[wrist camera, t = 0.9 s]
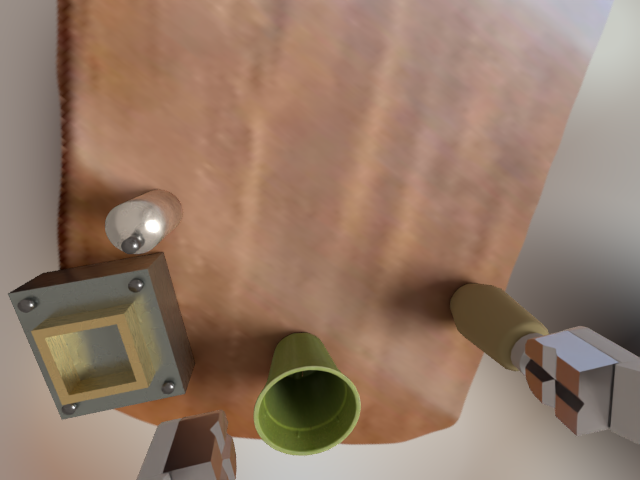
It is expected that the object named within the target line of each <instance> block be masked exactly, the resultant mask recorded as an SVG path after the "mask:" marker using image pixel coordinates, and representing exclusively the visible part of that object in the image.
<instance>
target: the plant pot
mask: <svg viewBox="0 0 640 480" xmlns="http://www.w3.org/2000/svg"><path fill="white" fill-rule="evenodd" d="M302 371H303V376H302ZM360 407H361V404H360V397H359V394H358V391H357V389H356V387H355V386H354V384H353V383H352V382H351V380H350V379H349V378H347V377H346V376H345V375H344V374H342V373H341V372H340V371H339V370H338V369H337V367H336V365H335V363H334V362H333V360H332V358H331V357H330V355H329V353H328V352H327V350H326V348H325V347H324V345H323V343H322V342H321V341H320V339H319V338H317V337H316V336H314V335H312V334H310V333H293V334H291V335H289V336H287V337H285V338H283V339H282V340H281V341H280V342H279V343H278V345H277V346H276V348H275V351H274V355H273V359H272V363H271V367H270V372H269V376H268V380H267V383H266V385H265V387H264V389H263V390H262V392H261V393H260V395H259V397H258V399H257V401H256V404H255V408H254V424H255V427H256V430H257V432H258V434H259V436H260V437H261V438H262V440H263V441H264V442H265V443H266V444H268V445H269V446H270V447H272V448H273V449H275V450H278V451H280V452H283V453H286V454H290V455H312V454H317V453H321V452H324V451H326V450H329V449H331V448H332V447H334V446H336V445H337V444H339V443H341V442H342V441H343V440H344V439H345V438H346V437H347V436H348V435H349V434H350V433H351V431H352V430H353V429H354V427H355V425H356V423H357V421H358V418H359V414H360Z"/></svg>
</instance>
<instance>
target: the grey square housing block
mask: <svg viewBox="0 0 640 480" xmlns="http://www.w3.org/2000/svg"><path fill="white" fill-rule="evenodd" d="M8 295H9V297H10V300H11V302H12V304H13V307H14V309H15V311H16V314H17V316H18V318H19V321H20V323H21V325H22V328H23V330H24V332H25V334H26V337H27V339H28V342H29V344H30V346H31V348H32V351H33V353H34V356H35V358H36V360H37V363H38V365H39V367H40V370H41V372H42V374H43V377H44V379H45V381H46V384H47V386H48V388H49V391H50V393H51V395H52V398H53V400H54V402H55V405H56V407H57V409H58V412H59V414H60V416H61V419H67V418H72V417H77V416H81V415H86V414H90V413H96V412H100V411H105V410H110V409H115V408H119V407H124V406H129V405H134V404H138V403H143V402H148V401H153V400H157V399H162V398H167V397H172V396H176V395H181V394H185V393H186V390H187V387H188V383H189V380H190V377H191V374H192V371H193V368H194V365H195V362H194V358H193V355H192V351H191V348H190V344H189V341H188V337H187V334H186V330H185V327H184V323H183V320H182V316H181V313H180V309H179V306H178V302H177V299H176V295H175V291H174V288H173V284H172V281H171V277H170V274H169V270H168V267H167V263H166V260H165V256H164V253H163V252H161V253H155V254H149V255H143V256H138V257H132V258H126V259H121V260H115V261H109V262H103V263H98V264H92V265H86V266H81V267H75V268H69V269H63V270H58V271H52V272H47V273H42V274H41V275H39V276H37V277H35V278H34V279H32V280H31V281H29V282H27V283H25V284H24V285H22V286H20V287H19V288H17V289H15V290H14V291H12V292H10V293H8Z"/></svg>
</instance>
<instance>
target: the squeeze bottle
mask: <svg viewBox="0 0 640 480" xmlns="http://www.w3.org/2000/svg"><path fill="white" fill-rule="evenodd" d="M450 309H451V312H452V315H453V318H454V321H455V324H456V327H457V330H458V331H459V332H460V333H461V334H462V335H463V336H464V337H465V338H466V339H468V340H469V341H470V342H472V343H473V344H474V345H476V346H477V347H478V348H479V349H481V350H482V351H483V352H485V353H486V354H487V355H489V356H490V357H491V358H492V359H494V360H495V361H496V362H498V363H499V364H500V365H502V366H503V367H505V369H509V370H512V371H521V372H522V373H523V374H524V375H525V376H526V374H525V367H526V365H527V364H528V362H529V360H530V358H529V357H528V356H527V355H526V354H525V344H526V342H527V340H528V339H532V338H536V337H540V336H544V335H549V333H548V330H547V329H546V328H545V327H544V325H543V324H542V323H541V322H539V321H538V320H537V319H536V318H535V317H534V316H532V315H531V314H530V313H529V312H528V311H527V310H525V309H524V308H523V307H522V306H520V305H519V304H518V303H517V302H516V301H515V300H514V299H513V298H511V297H510V296H509V295H508V294H507V293H506V292H504V291H503V290H502V289H500V288H497V287H495V286H492V285H484V284H477V283H473V284H466V285H464V286H462V287H460V288H459V289H458V290H457V291H456V292H455V293H454V294H453V296H452V298H451V301H450Z"/></svg>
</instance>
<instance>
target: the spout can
mask: <svg viewBox="0 0 640 480" xmlns="http://www.w3.org/2000/svg"><path fill="white" fill-rule="evenodd" d="M182 215H183V209H182V205H181V203H180V201H179V200H178V198H177V197H176V196H175V195H173V194H172V193H170V192H168V191H165V190H152V191H150V192H147V193H145V194H143V195H140V196H138V197H136V198H134V199H131V200H129V201H127V202H124V203H122V204H120V205H118V206H116V207H115V208H113V209H112V210H111V211H110V212H109V214H108V216H107V218H106V221H105V231H106V234H107V237H108V238H109V240H110V241H111V243H112V244H113V245H114V246H115V247H117V248H118V249H120V250H121V251H124V252H125V253H127V254H141V253H145V252H148V251H150V250H151V249H153V248H154V247H155V246H156V245H157V244H158V243H159V242H160V241H161V240H162V239H163V238H164V237H166V236H167V235H168V234H169V233H170V232H171V231H172V230H173V229H174V228H175V227H176V226H177V225H178V224H179V223H180V221H181V219H182Z"/></svg>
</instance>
